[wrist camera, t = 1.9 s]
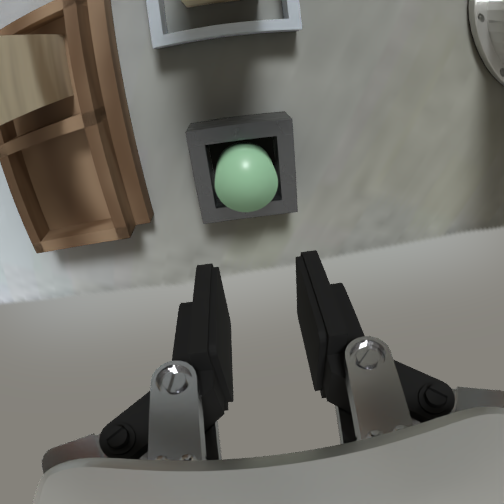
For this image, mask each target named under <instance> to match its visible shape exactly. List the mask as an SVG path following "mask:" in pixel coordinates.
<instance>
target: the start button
mask: <svg viewBox="0 0 504 504" xmlns="http://www.w3.org/2000/svg"><path fill="white" fill-rule="evenodd" d="M277 188H278V178H277V174H276V171H275V168H274V166H273V163H272V161H271V158H270V156H269V154H268V153H267V152H266V151H265V149H263V148H262V147H261V146H259V145H257V144H255V143H251V142H238V143H235V144H232V145H230V146H229V147H227V148H226V149H225V150H224V151H223V152H222V153H221V154H220V156H219V158H218V161H217V165H216V174H215V190H216V194H217V196H218V198H219V199H220V201H221V202H222V203H223V204H224V205H226V206H227V207H228V208H230V209H232V210H235V211H238V212H253V211H256V210H259V209H261V208H263V207H265V206H266V205H267V204H268V203H269V202H270V201H271V200H272V199H273V198H274V196H275V194H276V191H277Z"/></svg>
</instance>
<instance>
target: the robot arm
mask: <svg viewBox="0 0 504 504" xmlns="http://www.w3.org/2000/svg"><path fill="white" fill-rule="evenodd" d="M469 21H470V26H471V31H472V35H473V38H474V42H475V45H476V47H477V49H478V52H479V54H480V56H481V58H482V60H483V62H484V64H485V66H486V67H487V68H488V70H489V71H490V73H491V74H492V75H493V76H494V77H495V78H496V79H497V80H498V81H499V82H500V83H501V84H503V85H504V0H469ZM296 284H297V314H298V320H299V324H300V328H301V332H302V337H303V341H304V345H305V350H306V354H307V359H308V363H309V367H310V372H311V376H312V381H313V385H314V389H315V391H318V390H320V391H321V396H322V398H327V401H329V402H330V403H332V404H334V405H335V408H336V415H337V422H338V429H339V436H340V443H341V444H340V445H336V446H330V447H325V448H321V449H315V450H308V451H302V452H295V453H289V454H281V455H273V456H263V457H254V458H242V459H227V460H222V457H221V450H220V440H219V431H218V422H217V420H218V419H219V418H220V417H221V416H223V414H224V411H225V410H228V402H233V377H232V347H231V323H230V317H229V313H228V308H227V303H226V299H225V294H224V290H223V285H222V281H221V276H220V271H219V267H213V264H205V265H197V268H196V276H195V285H194V294H193V302H187V303H181V304H180V306H179V311H178V319H177V326H176V333H175V341H174V348H173V358H172V361H170V362H167V363H165V364H163V365H161V366H160V367H159V368H158V369H156V371H155V372H154V374H153V375H152V379H151V388H150V391H149V392H148V393H147V394H146V395H144V396H143V397H142V398H141V399H139V400H138V401H137V402H135V403H134V404H133V405H132V406H130V407H129V408H128V409H127V410H125V411H124V412H123V413H121V414H120V415H119V416H118V417H117V418H115V419H114V420H113V421H112V422H110V423H109V424H107V426H105V427H104V428H103V430H102V432H101V434H99V435H95V434H91V435H88V436H85V437H82V438H80V439H77V440H74V441H71V442H68V443H65V444H63V445H59V446H57V447H54V448H51V449H50V450H48V451H47V452H46V453H45V454H44V456H43V459H42V468H43V473H44V475H43V476H42V478H41V480H40V482H39V484H38V487H37V490H36V493H35V496H34V500H33V504H504V391H501V390H488V389H476V388H464V387H457V389H451V388H450V387H449V386H448V385H447V384H446V383H444V382H443V381H440V380H438V379H436V378H433V377H431V376H429V375H426V374H424V373H422V372H420V371H417V370H415V369H413V368H411V367H408V366H406V365H404V364H402V363H399V362H397V361H395V360H393V357H392V354H391V351H390V349H389V347H388V346H387V345H386V344H385V343H384V342H383V341H381V340H380V339H378V338H375V337H371V336H364V333H363V331H362V329H361V327H360V324H359V321H358V319H357V316H356V314H355V311H354V309H353V306H352V304H351V302H350V299H349V297H348V295H347V292H346V290H345V288H344V286H343V284H342V283H337V284H330V283H329V281H328V278H327V276H326V273H325V270H324V268H323V266H322V263H321V260H320V258H319V255H318V253H317V251H316V250H315V251H307V252H301V256H300V257H296Z"/></svg>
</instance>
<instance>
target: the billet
mask: <svg viewBox="0 0 504 504" xmlns="http://www.w3.org/2000/svg"><path fill="white" fill-rule="evenodd" d="M73 95H74V93H73V88H72V83H71V78H70V73H69V67H68V62H67V56H66V50H65V43H64V36H63V35H57V34H28V35H5V36H0V126H1V125H3V124H5V123H7V122H9V121H11V120H14V119H16V118H18V117H20V116H23V115H25V114H27V113H29V112H32V111H34V110H36V109H39V108H41V107H44V106H46V105H49V104H51V103H54V102H56V101H59V100H62V99H64V98H67V97H70V96H73Z"/></svg>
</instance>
